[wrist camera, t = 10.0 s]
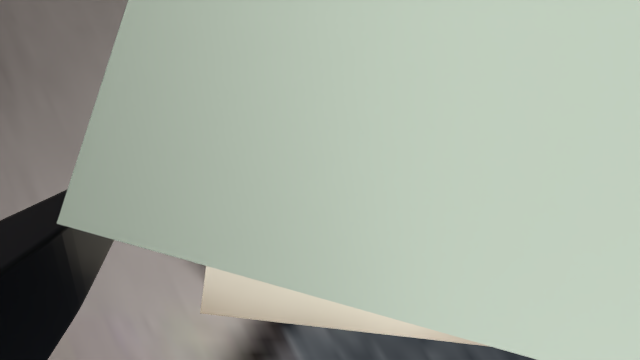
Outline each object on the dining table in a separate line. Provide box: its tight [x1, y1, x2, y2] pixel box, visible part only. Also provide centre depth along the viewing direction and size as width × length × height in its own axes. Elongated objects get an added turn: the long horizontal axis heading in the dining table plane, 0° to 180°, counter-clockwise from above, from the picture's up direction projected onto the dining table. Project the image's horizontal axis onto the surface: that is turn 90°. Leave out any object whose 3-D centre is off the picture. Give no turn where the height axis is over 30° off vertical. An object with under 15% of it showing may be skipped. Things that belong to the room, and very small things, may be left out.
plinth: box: [200, 266, 488, 346], centre depth 18 cm, size 10×10×3 cm
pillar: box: [57, 0, 640, 360], centre depth 10 cm, size 5×5×13 cm
